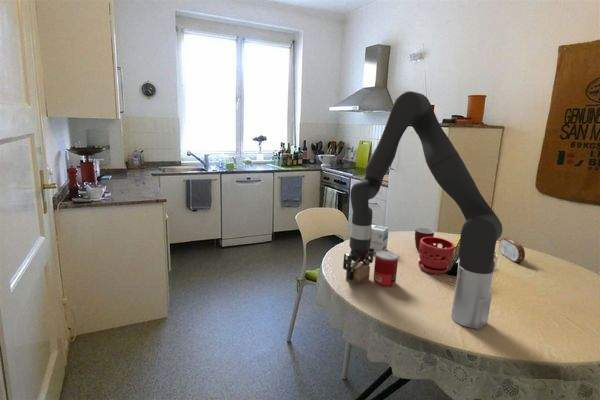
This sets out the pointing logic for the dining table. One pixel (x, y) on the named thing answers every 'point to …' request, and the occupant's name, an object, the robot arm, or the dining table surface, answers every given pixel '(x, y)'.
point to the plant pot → (435, 254)
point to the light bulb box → (379, 238)
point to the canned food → (385, 268)
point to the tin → (512, 249)
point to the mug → (422, 235)
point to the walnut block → (360, 274)
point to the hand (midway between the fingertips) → (357, 277)
